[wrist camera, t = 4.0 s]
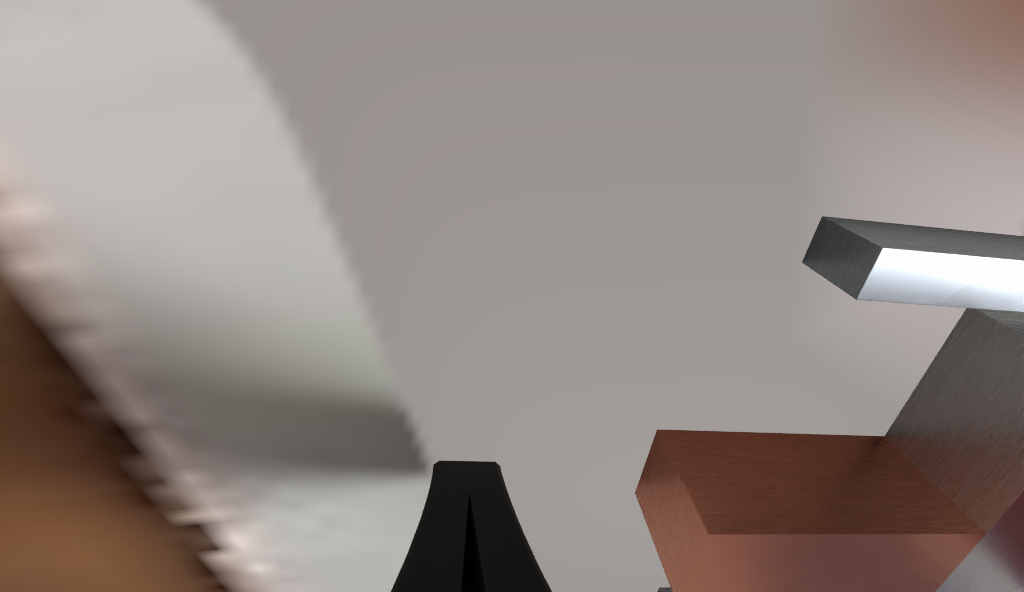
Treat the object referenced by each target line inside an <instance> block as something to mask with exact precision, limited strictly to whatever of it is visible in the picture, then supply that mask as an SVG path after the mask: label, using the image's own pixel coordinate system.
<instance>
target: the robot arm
mask: <svg viewBox="0 0 1024 592" xmlns="http://www.w3.org/2000/svg"><path fill="white" fill-rule="evenodd" d="M391 592H552V591H551V589H550V587H549V585H548V583H547V581H546V580H545V578H544V576H543V574H542V572H541V570H540V568H539V566H538V564H537V562H536V559H535V557H534V555H533V553H532V550H531V549H530V546H529V544H528V542H527V539H526V537H525V535H524V533H523V531H522V528H521V526H520V523H519V521H518V519H517V516H516V514H515V511H514V508H513V506H512V503H511V501H510V498H509V495H508V492H507V489H506V486H505V483H504V480H503V476H502V473H501V469H500V466H499V465H498V464H497V463H496V462H477V461H438V462H437V463H435V464H434V466H433V475H432V480H431V485H430V489H429V493H428V497H427V500H426V503H425V507H424V510H423V513H422V516H421V519H420V522H419V525H418V527H417V530H416V533H415V535H414V538H413V541H412V543H411V546H410V549H409V551H408V554H407V556H406V559H405V561H404V563H403V566H402V568H401V570H400V572H399V575H398V577H397V579H396V581H395V584H394V586H393V588H392V590H391Z"/></svg>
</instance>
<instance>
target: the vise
mask: <svg viewBox="0 0 1024 592" xmlns="http://www.w3.org/2000/svg"><path fill="white" fill-rule="evenodd" d="M802 263H804V264H805V265H807V266H808V267H810V268H811V269H813V270H814V271H815V272H817V273H818V274H820V275H821V276H823V277H824V278H826V279H827V280H829V281H830V282H832V283H833V284H834V285H836V286H837V287H839V288H840V289H842V290H843V291H845V292H846V293H848V294H849V295H850V296H852V297H853V298H855V299H857V300H868V301H882V302H896V303H909V304H923V305H936V306H950V307H964V308H977V309H990V310H1004V311H1018V312H1024V236H1014V235H1004V234H993V233H984V232H973V231H963V230H954V229H953V230H952V229H944V228H934V227H923V226H912V225H903V224H893V223H883V222H873V221H863V220H851V219H842V218H832V217H823V216H822V218H821V220H820V223H819V225H818V227H817V230H816V232H815V234H814V236H813V239H812V241H811V243H810V246H809V248H808V250H807V252H806V255H805V257H804V259H803V262H802ZM658 592H672V589H671V588H659V590H658Z"/></svg>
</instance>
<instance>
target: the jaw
mask: <svg viewBox="0 0 1024 592" xmlns="http://www.w3.org/2000/svg"><path fill="white" fill-rule="evenodd" d="M635 494H636V497H637V499H638V502H639V504H640V507H641V510H642V512H643V515H644V518H645V520H646V523H647V526H648V528H649V531H650V534H651V536H652V539H653V542H654V544H655V547H656V549H657V552H658V555H659V558H660V560H661V563H662V566H663V568H664V571H665V574H666V576H667V579H668V581H669V584H670V587H671V589H672V592H1024V312H1018V311H1004V310H990V309H977V308H966V310H965V312H964V313H963V315H962V316H961V318H960V320H959V321H958V323H957V324H956V326H955V327H954V329H953V330H952V332H951V334H950V335H949V337H948V338H947V340H946V341H945V343H944V344H943V346H942V348H941V349H940V351H939V352H938V354H937V356H936V357H935V358H934V360H933V362H932V363H931V365H930V366H929V368H928V369H927V371H926V373H925V374H924V376H923V377H922V379H921V380H920V382H919V383H918V385H917V387H916V388H915V390H914V391H913V393H912V394H911V396H910V398H909V399H908V401H907V402H906V404H905V406H904V407H903V409H902V410H901V412H900V413H899V415H898V416H897V418H896V420H895V421H894V423H893V424H892V426H891V427H890V429H889V430H888V432H887V434H886V435H885V436H851V435H818V434H816V435H814V434H785V433H752V432H750V433H749V432H717V431H685V430H657V432H656V435H655V437H654V441H653V443H652V446H651V449H650V452H649V455H648V458H647V461H646V463H645V466H644V469H643V472H642V475H641V478H640V481H639V483H638V486H637V489H636V492H635Z"/></svg>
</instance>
